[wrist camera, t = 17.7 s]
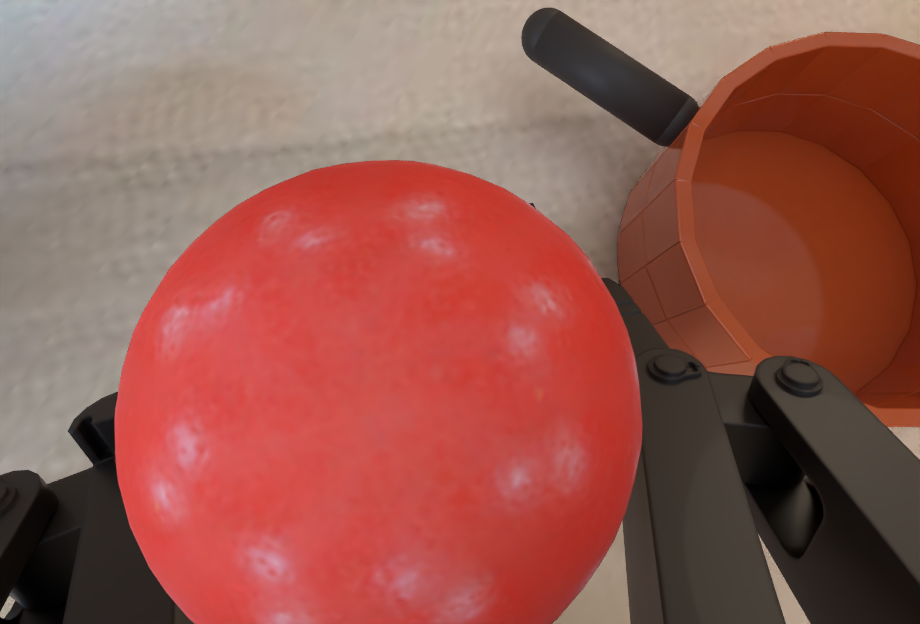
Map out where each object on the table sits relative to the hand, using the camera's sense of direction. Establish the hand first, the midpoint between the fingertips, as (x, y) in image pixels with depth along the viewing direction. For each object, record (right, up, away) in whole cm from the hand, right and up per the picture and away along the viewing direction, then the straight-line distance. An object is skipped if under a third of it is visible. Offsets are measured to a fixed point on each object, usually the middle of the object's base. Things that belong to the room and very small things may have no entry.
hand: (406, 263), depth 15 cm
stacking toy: (0, -5, +7) cm, 9 cm away
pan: (+16, +1, +8) cm, 18 cm away
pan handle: (+7, +8, +6) cm, 12 cm away
